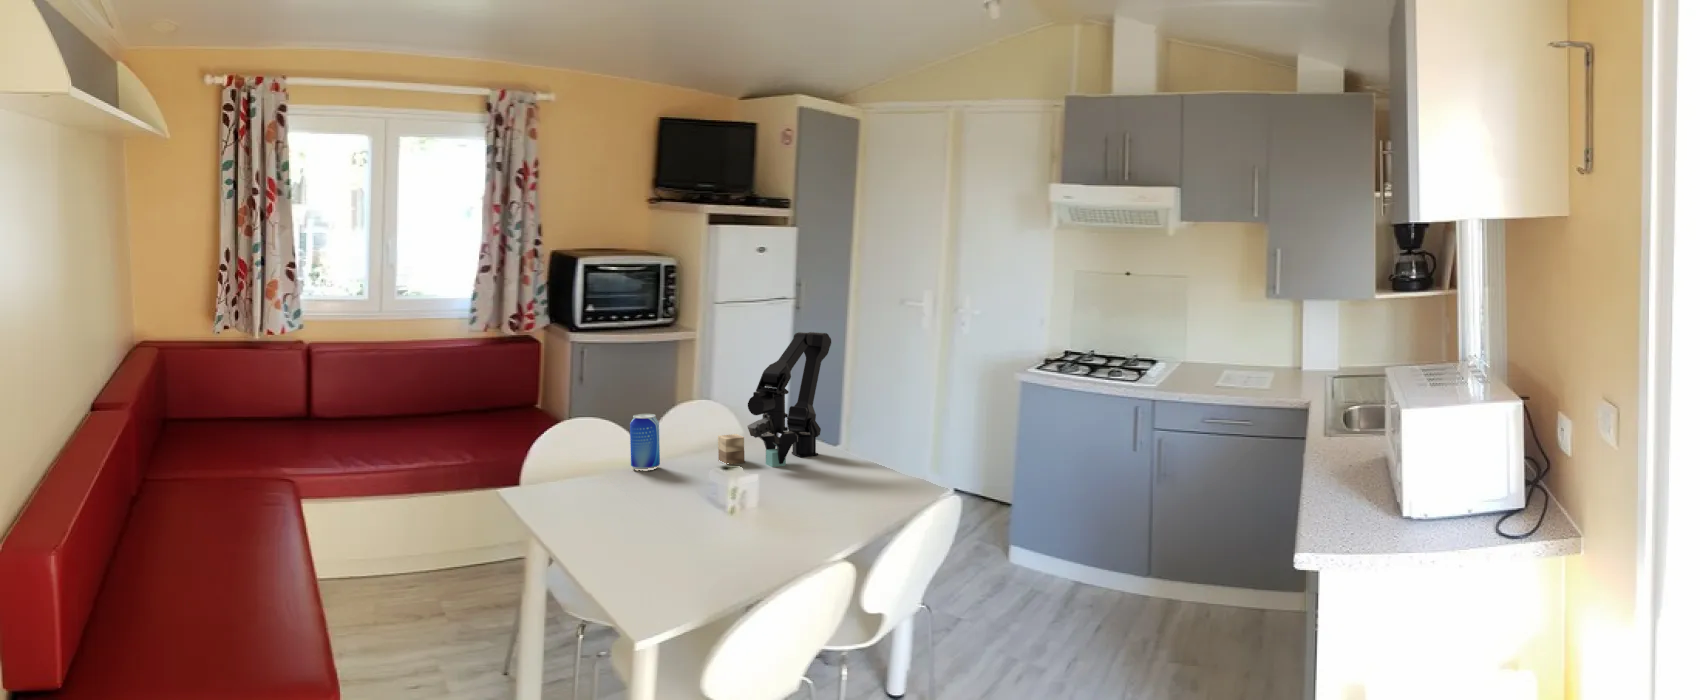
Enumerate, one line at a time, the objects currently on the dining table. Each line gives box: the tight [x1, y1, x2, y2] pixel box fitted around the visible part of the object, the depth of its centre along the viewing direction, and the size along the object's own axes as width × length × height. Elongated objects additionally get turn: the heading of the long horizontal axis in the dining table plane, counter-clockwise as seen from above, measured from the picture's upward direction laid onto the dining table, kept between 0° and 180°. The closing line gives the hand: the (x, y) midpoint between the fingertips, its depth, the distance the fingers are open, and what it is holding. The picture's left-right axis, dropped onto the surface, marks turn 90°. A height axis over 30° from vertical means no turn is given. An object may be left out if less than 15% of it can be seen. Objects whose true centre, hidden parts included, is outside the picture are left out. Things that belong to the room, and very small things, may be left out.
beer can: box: [629, 413, 661, 470], centre depth 303 cm, size 8×8×16 cm
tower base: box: [717, 448, 745, 465], centre depth 313 cm, size 6×6×4 cm
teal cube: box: [765, 448, 787, 468], centre depth 309 cm, size 4×4×4 cm
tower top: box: [717, 433, 745, 452], centre depth 312 cm, size 6×6×4 cm
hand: (775, 461), depth 309 cm, fingers open, 7 cm apart
